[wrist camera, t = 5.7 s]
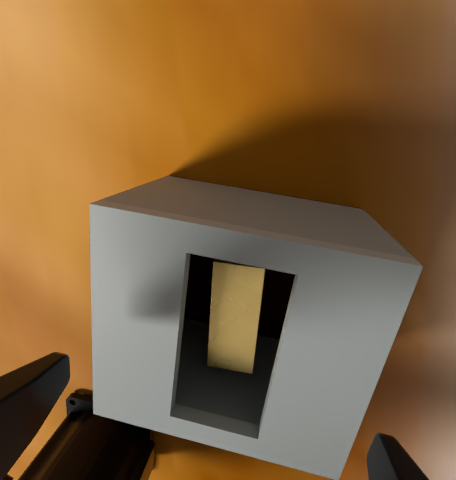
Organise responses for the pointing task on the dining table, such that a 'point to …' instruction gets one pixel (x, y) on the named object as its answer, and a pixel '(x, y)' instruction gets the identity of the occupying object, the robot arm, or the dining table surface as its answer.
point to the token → (234, 315)
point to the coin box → (267, 349)
